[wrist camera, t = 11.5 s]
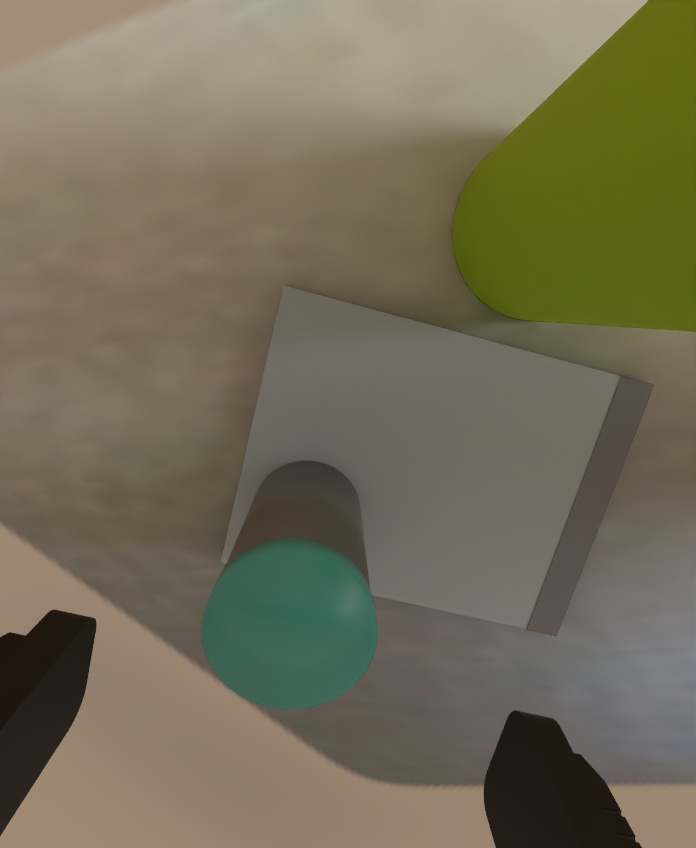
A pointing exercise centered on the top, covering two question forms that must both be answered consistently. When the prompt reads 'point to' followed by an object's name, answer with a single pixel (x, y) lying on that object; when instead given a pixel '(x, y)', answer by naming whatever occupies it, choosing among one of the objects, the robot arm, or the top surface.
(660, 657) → the top surface
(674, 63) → the soap dispenser
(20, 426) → the top surface
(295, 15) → the top surface
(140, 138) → the top surface
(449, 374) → the notepad
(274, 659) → the marker
